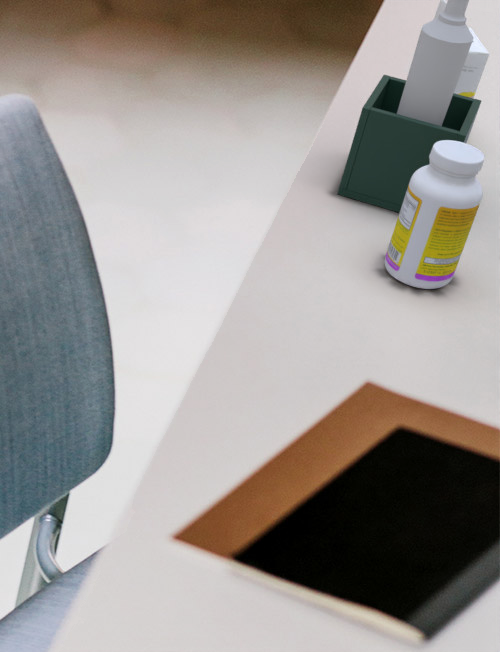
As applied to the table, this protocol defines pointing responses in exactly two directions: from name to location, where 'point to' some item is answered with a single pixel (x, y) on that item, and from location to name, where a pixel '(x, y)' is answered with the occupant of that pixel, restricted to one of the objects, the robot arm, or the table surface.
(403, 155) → the bin
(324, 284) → the table surface
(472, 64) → the ink box
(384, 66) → the table surface
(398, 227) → the supplement bottle
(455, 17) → the bottle
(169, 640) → the table surface
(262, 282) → the table surface
